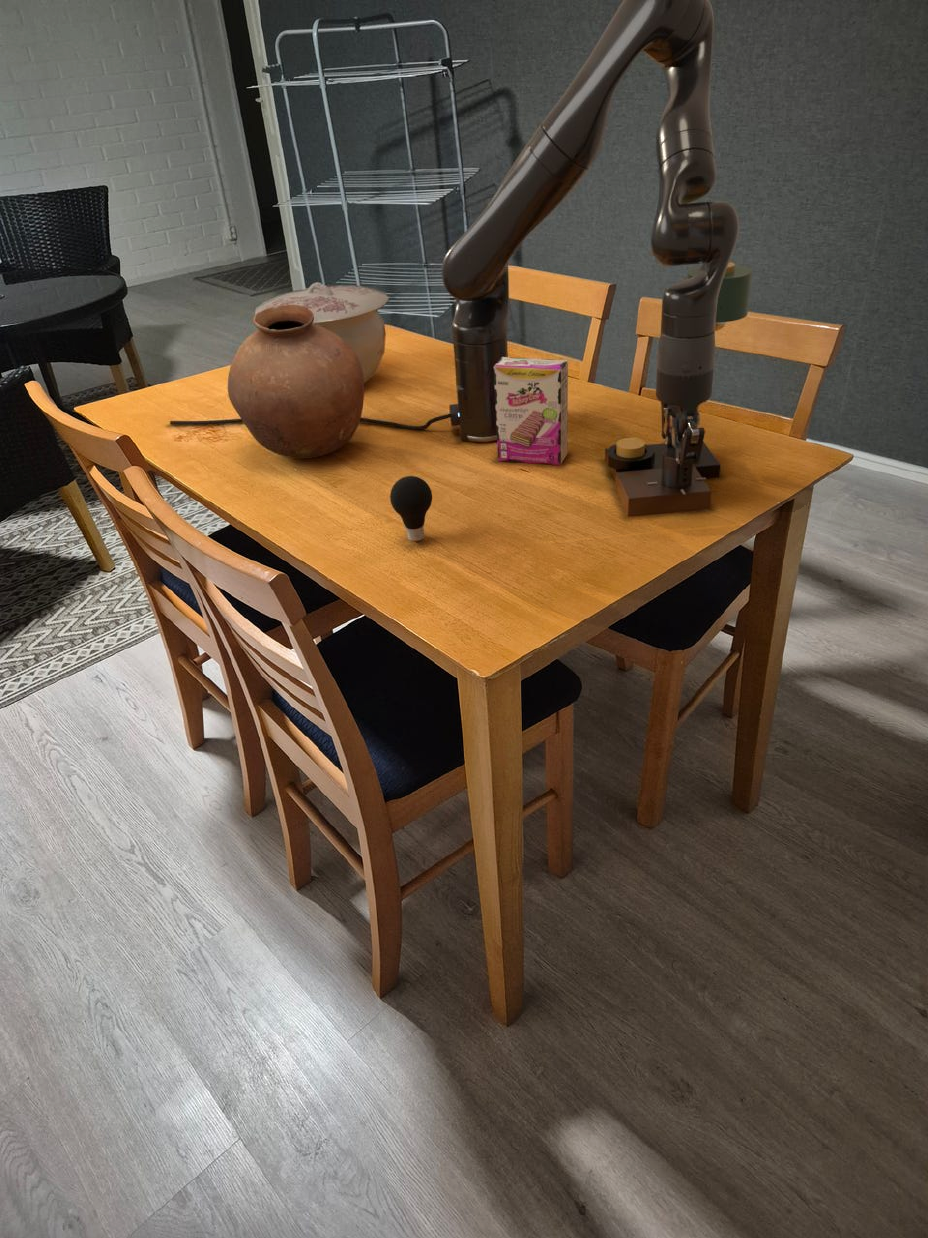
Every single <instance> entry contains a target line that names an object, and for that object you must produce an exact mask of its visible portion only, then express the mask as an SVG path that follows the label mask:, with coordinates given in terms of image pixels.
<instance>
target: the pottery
mask: <svg viewBox="0 0 928 1238" xmlns="http://www.w3.org/2000/svg"><path fill="white" fill-rule="evenodd" d="M313 321H314V313H313V312H312V311H311V310H310V309H309V308H307V307H304V306H300V305H295V304H291V305H279V306H276V307H269V308H267V309H264V310H262V311H260V312H258V313H257V314H256V315H255V314H254V315H253V318H252V322H253V325H254V326H255V328H257V330H256V331H255V332H252V333H251V334H250V335H249V336H248V337H247V338H246V339H245V340H244V341H243V342H242V344H241V345H240V346H239V347H238V349H237V351H236V352H235V354H234V356H233V358H232V361H231V365H230V367H229V371H228V377H227V395H228V399H229V401H230V404H231V406H232V407H233V409H234V411H235V412H236V413H237V415H238V416H239V419H242V421H243V422H242V423H243V424H244V426H245V427H246V428H247V429H248V431H249V433H250V434H251V436H252V437H253V438H254V439H255V440H256V442H257V443H259V445H260V446H262V447H263V448H265V449H266V450H268V451H270V452H272V453H274V454H277V455H280V456H282V457H287V458H293V459H311V458H318V457H322V456H325V455H328V454H330V453H333V452H334V451H337V450H339V449H340V448H342V447H343V446H345V445H346V444H348V443H349V442H350V441H351V439H353V437H354V435H355V433H356V431H357V429H358V427H359V424H360V419H361V418H362V413H363V408H364V401H365V400H364V399H365V383H364V381H363V373H362V368H361V364H360V361H359V358H358V356H357V355H356V353H355V352H354V350H353V349H352V348H351V347H350V346H349V344H348V343H347V342H345V341H344V340H343V339H342V338H341V337H339V336H338V335H336V334H335V333H333V332H331V331H329V330H327V329H325V328H323V327H321V326H318V325H315V324H312V323H313Z"/></svg>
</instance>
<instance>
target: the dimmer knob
mask: <svg viewBox="0 0 928 1238" xmlns="http://www.w3.org/2000/svg"><path fill="white" fill-rule="evenodd" d="M687 455H689V453H687ZM675 459H676V449H675V447H672V448H668V449H666V450H665V451H664V452H663V464H662V479H661V481H662V483H663V484H664V485H666V486H669V487H674V488H678V487H676V485H675V469H676V461H675ZM693 465H694V464H692V476H693ZM692 476H691V483H692Z"/></svg>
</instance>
